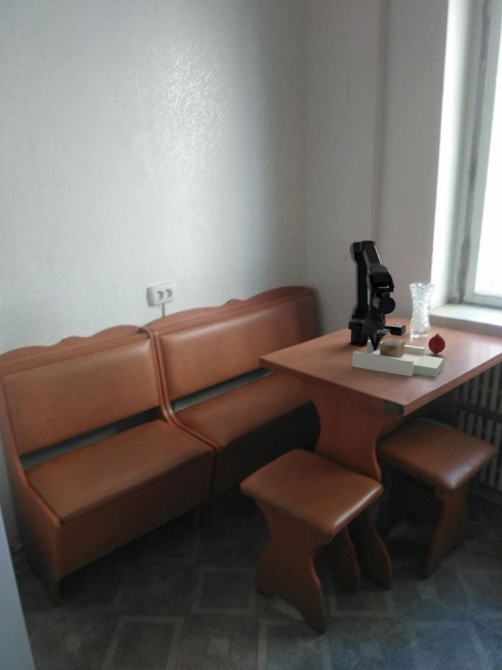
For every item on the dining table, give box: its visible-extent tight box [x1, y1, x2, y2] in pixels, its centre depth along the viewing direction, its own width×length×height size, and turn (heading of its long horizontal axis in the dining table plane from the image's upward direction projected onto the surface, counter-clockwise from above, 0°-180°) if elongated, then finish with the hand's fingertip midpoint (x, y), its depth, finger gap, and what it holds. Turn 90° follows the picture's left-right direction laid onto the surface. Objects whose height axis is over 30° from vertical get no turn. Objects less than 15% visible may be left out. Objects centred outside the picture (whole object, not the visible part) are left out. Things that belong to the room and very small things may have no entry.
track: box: [351, 340, 426, 377], centre depth 172 cm, size 20×17×5 cm
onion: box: [427, 332, 446, 355], centre depth 180 cm, size 6×6×8 cm
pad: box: [413, 355, 445, 378], centre depth 166 cm, size 7×11×3 cm, turn 148°
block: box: [380, 337, 406, 358], centre depth 171 cm, size 6×8×5 cm
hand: (375, 350), depth 174 cm, fingers closed
